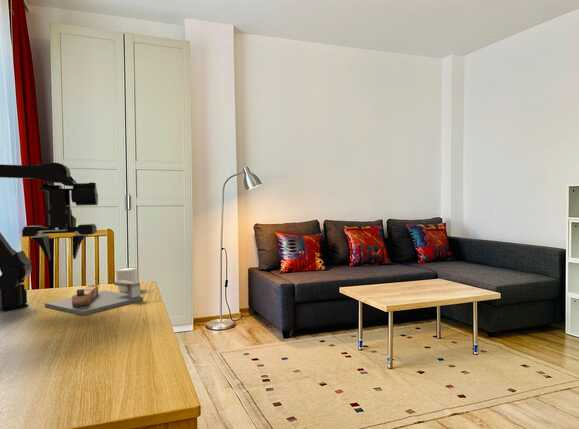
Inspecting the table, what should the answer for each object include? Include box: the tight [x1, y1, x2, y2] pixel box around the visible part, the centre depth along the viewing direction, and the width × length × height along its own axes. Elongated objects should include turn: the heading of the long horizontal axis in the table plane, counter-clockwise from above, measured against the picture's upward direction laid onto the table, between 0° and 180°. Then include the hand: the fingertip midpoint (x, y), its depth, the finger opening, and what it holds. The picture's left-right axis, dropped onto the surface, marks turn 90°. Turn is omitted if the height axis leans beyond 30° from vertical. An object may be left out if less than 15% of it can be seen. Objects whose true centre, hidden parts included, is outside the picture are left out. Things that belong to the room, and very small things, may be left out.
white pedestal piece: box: [115, 267, 138, 292], centre depth 147 cm, size 7×7×7 cm
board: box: [44, 289, 144, 316], centre depth 129 cm, size 19×19×1 cm
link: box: [71, 284, 99, 307], centre depth 129 cm, size 18×4×4 cm, turn 11°
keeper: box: [113, 280, 141, 298], centre depth 133 cm, size 3×8×4 cm, turn 56°
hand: (61, 259), depth 129 cm, fingers open, 7 cm apart
